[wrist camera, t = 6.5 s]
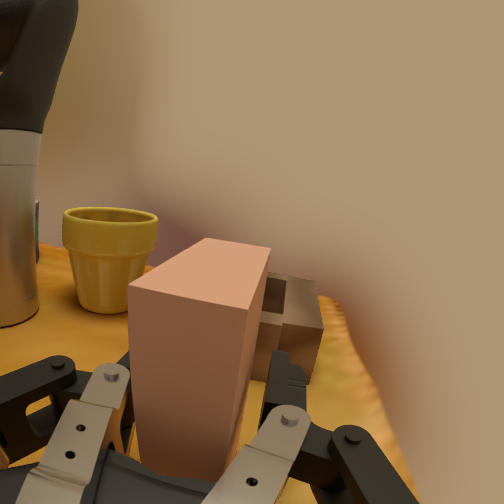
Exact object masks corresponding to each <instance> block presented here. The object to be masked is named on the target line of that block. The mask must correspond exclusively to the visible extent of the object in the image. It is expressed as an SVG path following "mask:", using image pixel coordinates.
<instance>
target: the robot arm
mask: <svg viewBox="0 0 504 504" xmlns="http://www.w3.org/2000/svg"><path fill="white" fill-rule="evenodd" d="M77 15H78V0H0V72H3V73H2V74H1V75H0V327H1V326H8V325H13V324H16V323H19V322H22V321H24V320H26V319H28V318H29V317H31V316H32V315H33V314H34V313H35V312H36V311H37V310H38V308H39V298H38V287H37V274H36V252H35V207H36V187H37V174H38V162H39V153H40V145H41V138H42V132H43V126H44V121H45V119H46V116H47V114H48V111H49V109H50V106H51V104H52V100H53V96H54V93H55V89H56V85H57V81H58V78H59V74H60V71H61V68H62V65H63V62H64V59H65V56H66V53H67V50H68V48H69V45H70V42H71V39H72V36H73V32H74V29H75V25H76V21H77ZM48 395H49V398H50V401H51V405H48V406H46V407H44V408H42V409H40V410H38V411H36V412H34V413H32V414H30V415H28V416H26V408H27V407H28V405H30V404H31V403H33V402H36V401H38V400H40V399H42V398H44V397H46V396H48ZM134 431H135V416H134V407H133V397H132V386H131V372H130V356H129V351H128V352H127V353H126V354H125V355H124V356H123V357H122V358H121V359H120V360H119V361H118V362H117V363H116V364H114V363H108V364H103V365H100V366H98V367H97V368H96V369H95V370H94V372H85V371H79V370H76V368H75V363H74V361H73V360H72V359H70V358H69V357H66V356H61V355H56V356H51V357H48V358H46V359H43V360H41V361H38V362H36V363H33V364H31V365H28V366H26V367H23V368H20V369H18V370H15V371H13V372H10V373H8V374H5V375H2V376H0V504H277V502H278V500H279V498H280V496H281V494H282V492H283V489H284V487H285V485H286V483H287V481H288V479H289V477H291V478H294V479H297V480H300V481H302V482H305V483H308V484H310V487H311V490H312V492H313V494H314V496H315V499H316V501H317V503H318V504H419V503H418V501H417V500H416V498H415V497H414V496H413V494H412V493H411V491H410V490H409V489H408V487H407V486H406V484H405V483H404V482H403V480H402V479H401V477H400V476H399V474H398V473H397V472H396V470H395V469H394V467H393V466H392V465H391V463H390V462H389V460H388V459H387V457H386V456H385V455H384V453H383V452H382V450H381V449H380V448H379V446H378V445H377V443H376V442H375V440H374V439H373V438H372V436H371V435H370V434H369V432H367V431H366V430H365V429H363V428H361V427H358V426H355V425H343V426H340V427H338V428H336V429H335V430H334V432H333V431H329V430H326V429H323V428H321V427H319V426H317V425H315V424H314V423H313V422H311V418H310V416H309V414H308V413H307V410H306V373H305V372H304V370H303V369H302V367H301V366H300V365H293V364H290V352H284V351H278V350H273V351H272V356H271V361H270V366H269V371H268V376H267V381H266V386H265V391H264V397H263V402H262V408H261V414H260V419H259V425H258V430H257V434H256V436H255V437H254V439H253V440H252V442H251V443H250V445H246V444H245V445H244V446H243V447H242V448H241V450H240V451H239V453H238V454H237V455H236V457H235V458H234V460H233V461H232V463H231V464H230V465H229V467H228V468H227V470H226V471H225V472H224V474H223V475H222V476H221V478H220V479H219V481H218V482H217V483H213V482H209V481H205V480H201V479H196V478H183V477H172V476H164V475H160V474H158V473H156V472H154V471H153V470H151V469H149V468H148V467H146V466H144V465H143V464H141V463H139V462H138V461H136V460H135V459H133V458H131V457H129V453H130V449H131V444H132V439H133V435H134ZM46 445H47V447H46V449H45V451H44V454H43V456H42V458H41V460H40V462H36V463H32V464H27V465H22V466H17V467H11V468H8V466H9V465H10V464H12V463H14V462H16V461H18V460H20V459H22V458H24V457H26V456H28V455H29V454H31V453H33V452H35V451H37V450H39V449H41V448H43V447H44V446H46Z"/></svg>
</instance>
